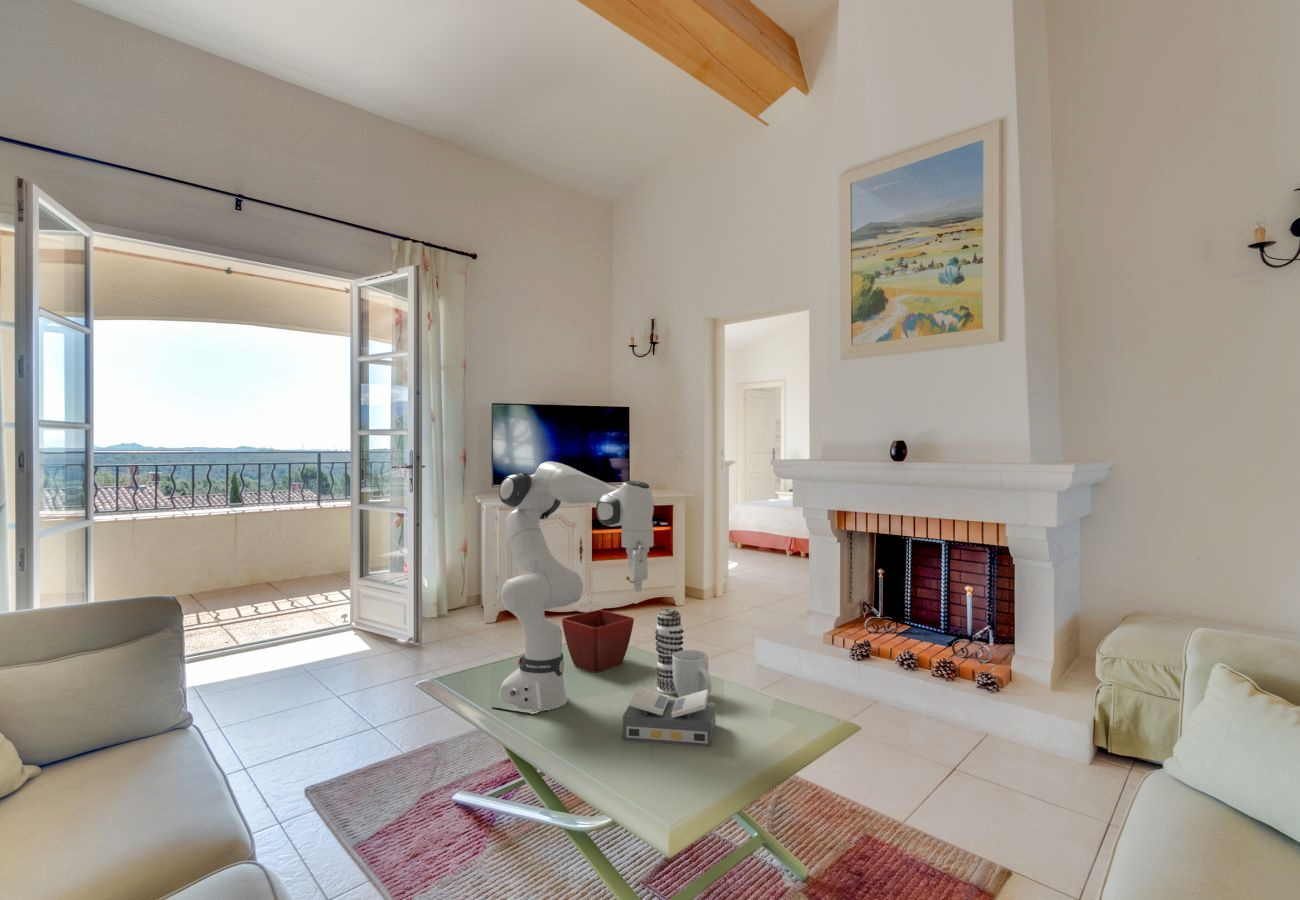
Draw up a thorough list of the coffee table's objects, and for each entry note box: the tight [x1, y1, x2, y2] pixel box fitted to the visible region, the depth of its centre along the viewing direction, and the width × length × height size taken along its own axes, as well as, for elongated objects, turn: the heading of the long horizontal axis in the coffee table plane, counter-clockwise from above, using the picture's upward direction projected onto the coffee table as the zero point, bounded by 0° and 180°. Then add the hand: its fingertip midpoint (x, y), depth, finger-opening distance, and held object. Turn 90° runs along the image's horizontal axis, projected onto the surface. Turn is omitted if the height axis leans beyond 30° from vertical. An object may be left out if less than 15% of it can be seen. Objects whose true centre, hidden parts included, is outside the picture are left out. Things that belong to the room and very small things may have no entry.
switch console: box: [622, 699, 716, 748], centre depth 160 cm, size 23×13×7 cm, turn 79°
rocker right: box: [671, 689, 710, 718], centre depth 159 cm, size 9×11×1 cm
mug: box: [672, 649, 712, 698], centre depth 182 cm, size 15×11×13 cm
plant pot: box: [561, 609, 635, 673], centre depth 216 cm, size 19×19×17 cm
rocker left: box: [628, 686, 670, 715], centre depth 161 cm, size 9×11×1 cm
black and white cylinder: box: [654, 608, 685, 695], centre depth 191 cm, size 9×9×25 cm
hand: (637, 590), depth 165 cm, fingers closed
